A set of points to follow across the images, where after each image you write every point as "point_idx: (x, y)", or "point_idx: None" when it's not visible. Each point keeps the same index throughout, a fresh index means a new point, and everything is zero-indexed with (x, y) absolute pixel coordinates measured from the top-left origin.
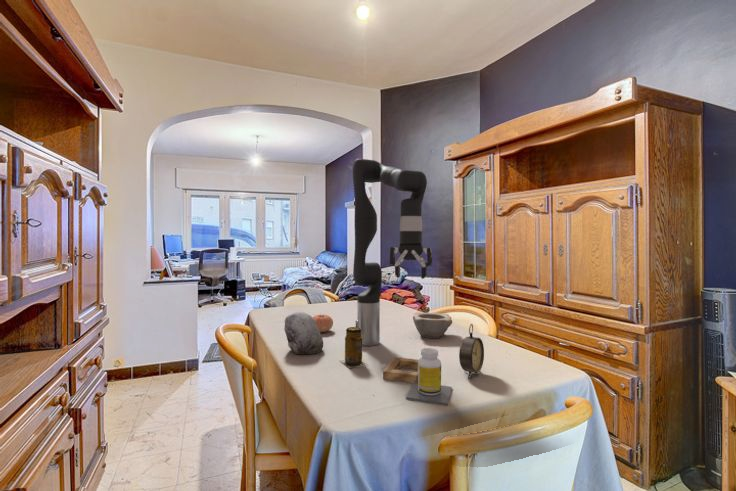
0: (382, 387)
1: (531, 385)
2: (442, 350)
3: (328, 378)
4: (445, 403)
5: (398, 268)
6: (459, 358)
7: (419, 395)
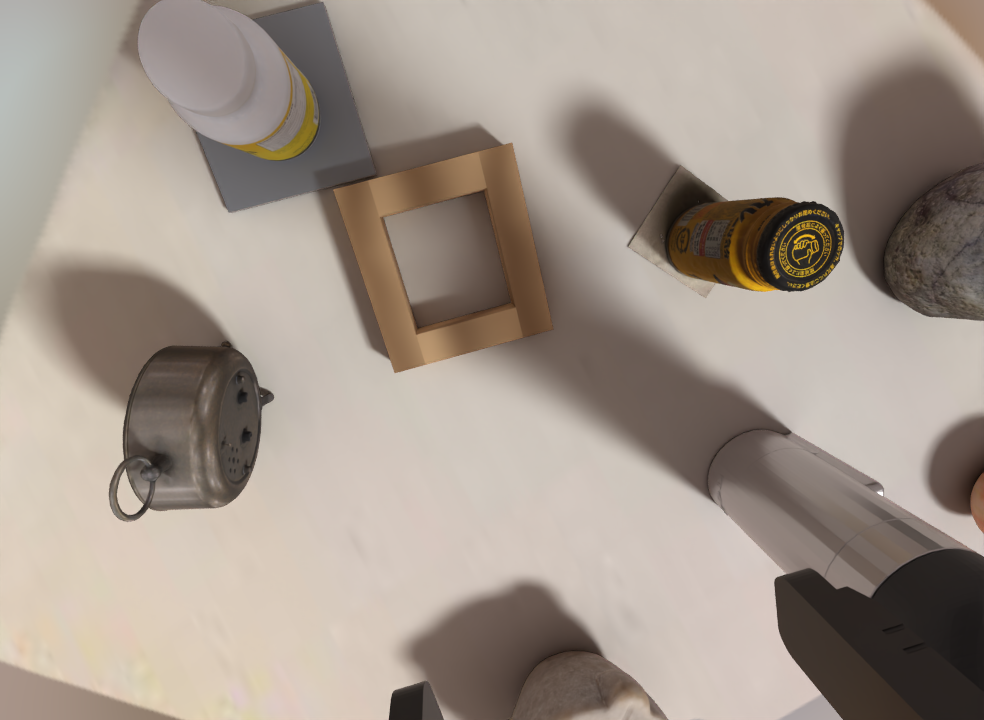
0: (464, 63)
1: (11, 418)
2: (456, 562)
3: (700, 17)
4: None
5: (915, 708)
6: (230, 354)
7: (287, 50)
